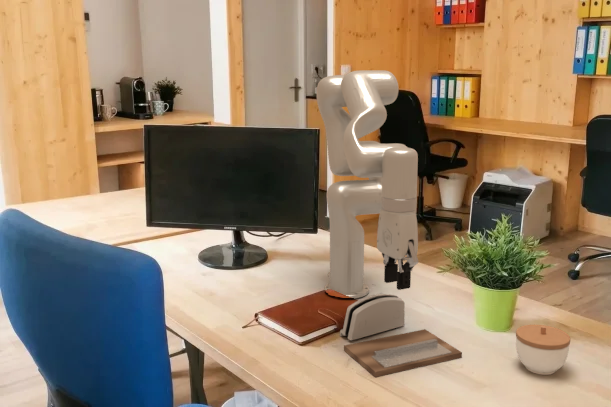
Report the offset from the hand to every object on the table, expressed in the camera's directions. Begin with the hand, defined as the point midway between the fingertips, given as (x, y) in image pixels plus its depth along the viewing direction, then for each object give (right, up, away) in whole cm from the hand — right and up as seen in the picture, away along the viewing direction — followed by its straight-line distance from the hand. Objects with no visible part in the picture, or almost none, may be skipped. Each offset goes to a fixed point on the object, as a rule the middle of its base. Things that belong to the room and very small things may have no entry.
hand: (397, 284), depth 139 cm
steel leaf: (+3, -15, -3) cm, 16 cm away
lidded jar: (+30, -17, -6) cm, 35 cm away
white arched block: (-4, -14, +12) cm, 19 cm away
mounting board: (+1, -16, +1) cm, 16 cm away
